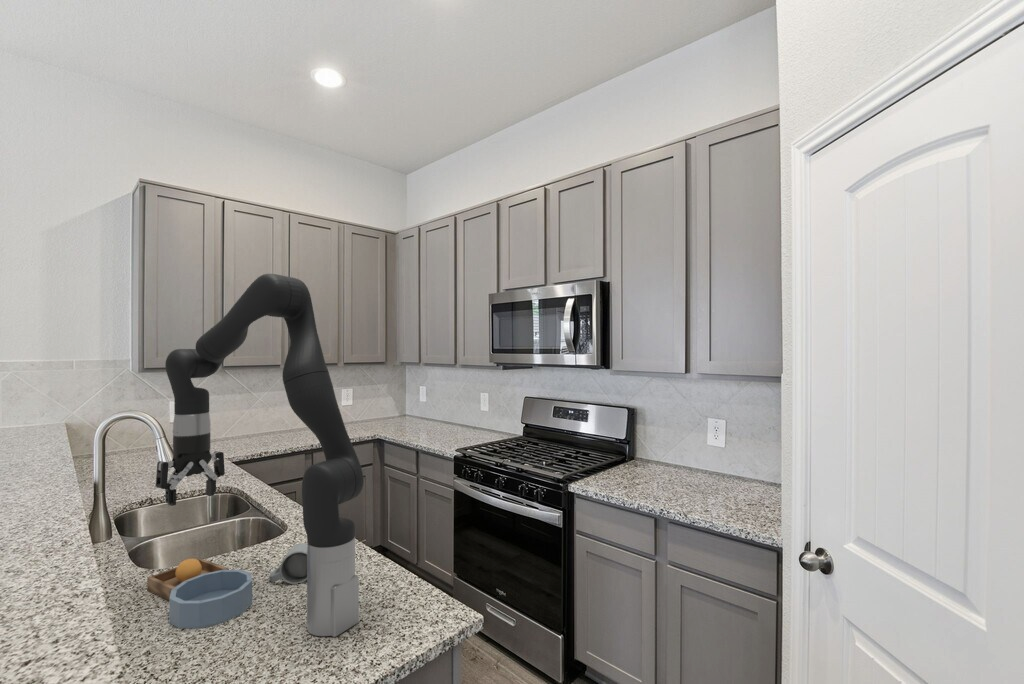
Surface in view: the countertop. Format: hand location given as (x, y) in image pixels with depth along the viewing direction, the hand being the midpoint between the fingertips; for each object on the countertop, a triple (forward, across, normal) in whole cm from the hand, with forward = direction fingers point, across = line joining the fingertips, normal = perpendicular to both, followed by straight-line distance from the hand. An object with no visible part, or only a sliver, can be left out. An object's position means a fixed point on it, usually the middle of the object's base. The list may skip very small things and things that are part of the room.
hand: (191, 500), depth 116 cm
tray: (+20, 0, 0) cm, 20 cm away
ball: (+17, 0, 0) cm, 17 cm away
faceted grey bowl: (+20, -4, -15) cm, 26 cm away
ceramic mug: (+21, +14, -18) cm, 31 cm away
